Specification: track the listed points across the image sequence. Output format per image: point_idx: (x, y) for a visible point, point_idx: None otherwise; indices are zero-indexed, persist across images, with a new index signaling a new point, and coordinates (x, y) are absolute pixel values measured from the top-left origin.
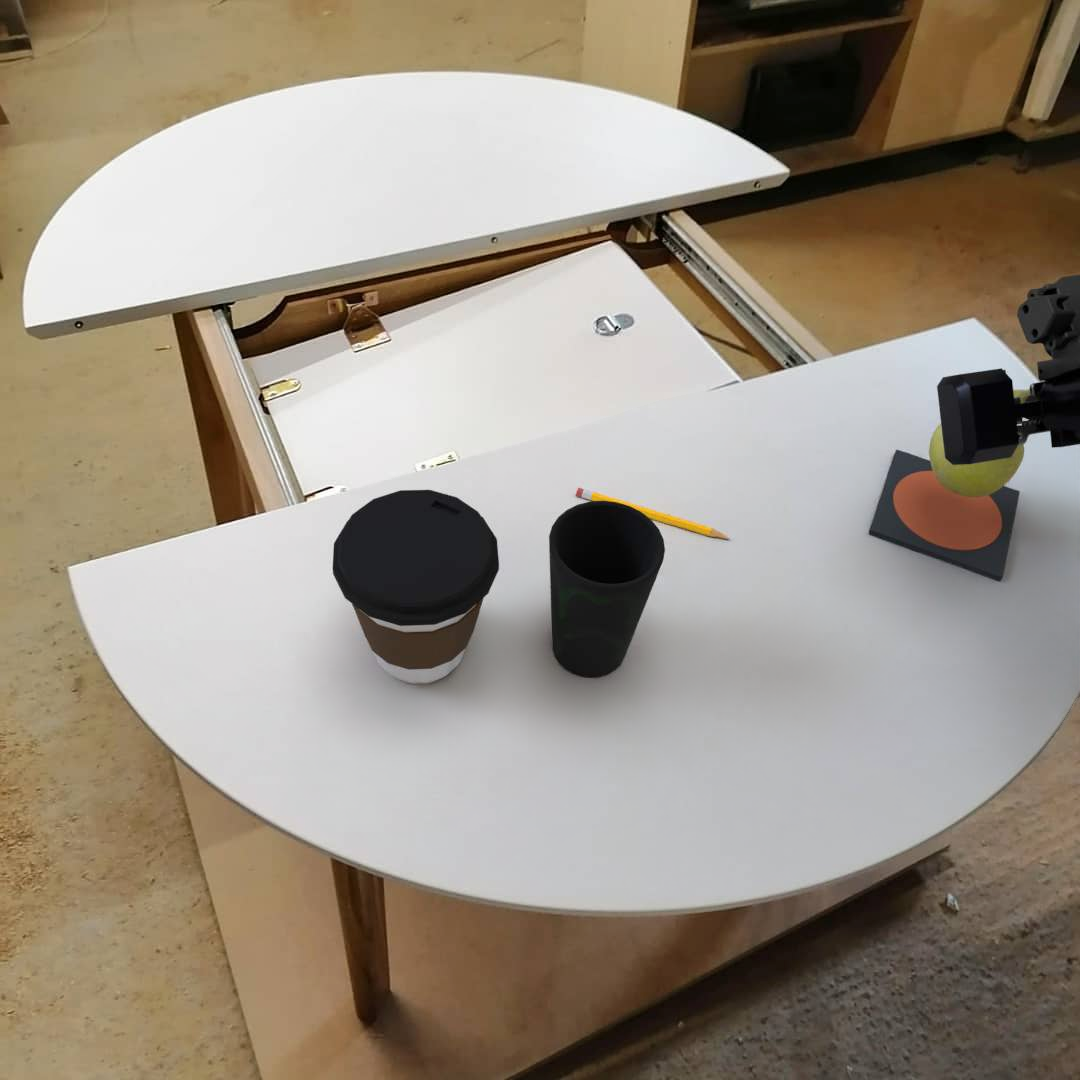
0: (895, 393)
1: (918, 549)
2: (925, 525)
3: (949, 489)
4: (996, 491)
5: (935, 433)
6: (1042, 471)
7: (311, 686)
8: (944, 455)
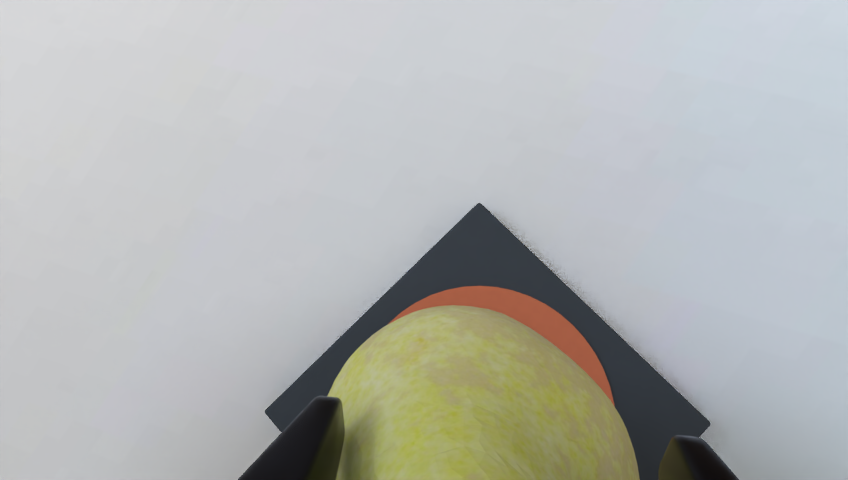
0: (599, 32)
1: None
2: None
3: None
4: (646, 404)
5: (349, 359)
6: (828, 367)
7: None
8: None
